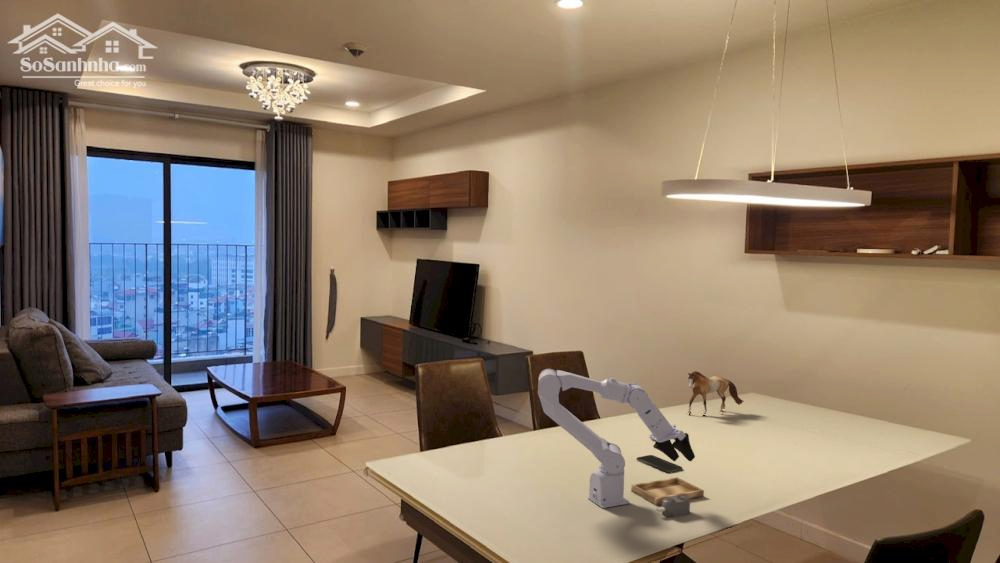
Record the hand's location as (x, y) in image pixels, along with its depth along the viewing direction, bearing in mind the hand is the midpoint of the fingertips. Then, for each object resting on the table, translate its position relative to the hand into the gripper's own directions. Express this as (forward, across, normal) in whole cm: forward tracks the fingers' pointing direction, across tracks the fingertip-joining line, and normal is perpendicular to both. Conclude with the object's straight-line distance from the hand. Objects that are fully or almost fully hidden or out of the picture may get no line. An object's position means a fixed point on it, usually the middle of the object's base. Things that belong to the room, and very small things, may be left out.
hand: (684, 459), depth 179 cm
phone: (+10, +34, -9) cm, 37 cm away
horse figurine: (+34, +81, -70) cm, 113 cm away
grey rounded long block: (+8, 0, +13) cm, 15 cm away
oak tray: (+8, +12, +6) cm, 16 cm away
